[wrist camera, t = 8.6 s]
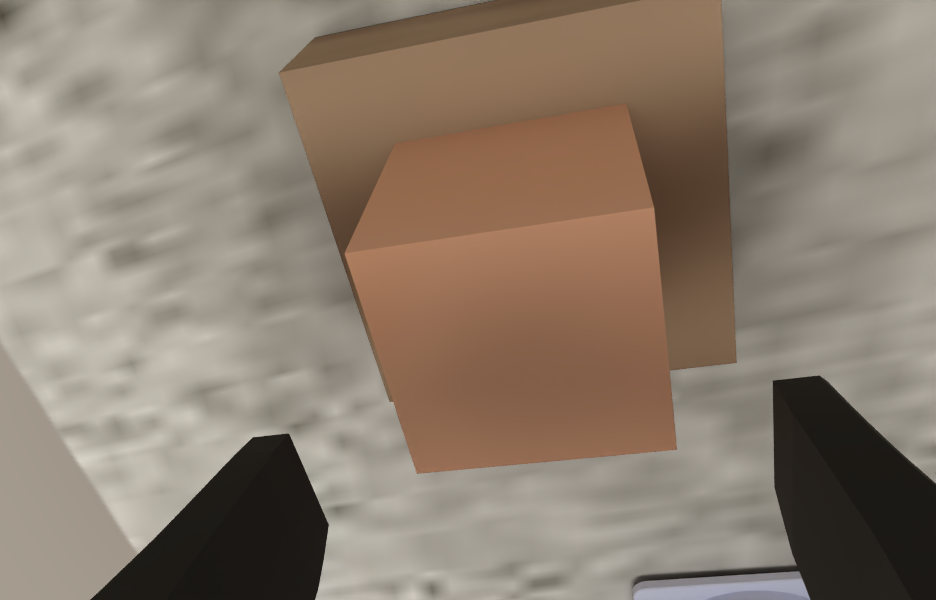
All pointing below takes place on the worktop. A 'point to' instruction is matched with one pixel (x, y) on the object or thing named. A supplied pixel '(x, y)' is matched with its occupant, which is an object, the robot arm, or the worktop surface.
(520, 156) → the terracotta cube
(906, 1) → the worktop surface
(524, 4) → the walnut block
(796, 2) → the worktop surface
